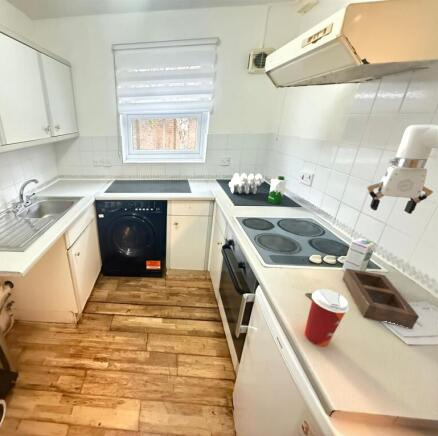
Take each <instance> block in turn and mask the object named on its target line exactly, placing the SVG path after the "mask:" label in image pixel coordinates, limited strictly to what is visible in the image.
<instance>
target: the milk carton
mask: <svg viewBox="0 0 438 436" xmlns="http://www.w3.org/2000/svg"><path fill="white" fill-rule="evenodd" d="M287 182H288V180H286V179H285V176H284V175H283V176H282V175H278V177H277V178H271V179H270V189H269V194H268V197H267V201H266V202H267V203H269V204H272V205H274V206H275V205H279V204H280V205H281V204H282V203H283V202H282V201H283V197H284V192H285V189H286V188H285V187H286V184H287Z"/></svg>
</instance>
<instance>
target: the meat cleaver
mask: <svg viewBox="0 0 438 436" xmlns="http://www.w3.org/2000/svg"><path fill="white" fill-rule="evenodd" d="M313 293H314V292H305V293H304V294H305V296H306V297H308V298H309V299H310V300H312V294H313Z"/></svg>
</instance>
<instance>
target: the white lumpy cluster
mask: <svg viewBox="0 0 438 436" xmlns="http://www.w3.org/2000/svg"><path fill="white" fill-rule="evenodd" d="M263 183H265V179H264V176H263V175H262V173H257V174H256V175H255V174H254V173H250V174H249V175H248V174H247V173H245V172H243V173H242V174H240V173H237V172H235V174H233V176H232V178H231V179H230V181H229V183H228V187H229V188H230V192H231V194H234V191H235V188H236V187H237V192H238V195H239V194H242V188H243V187H244V192H245V194H246V195H248V194H249V193H250V192H249V191H250V187H251V192H252V194H253V195H255V194H257V190H258V189H257V187H260V186H261V185H262V184H263Z"/></svg>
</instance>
